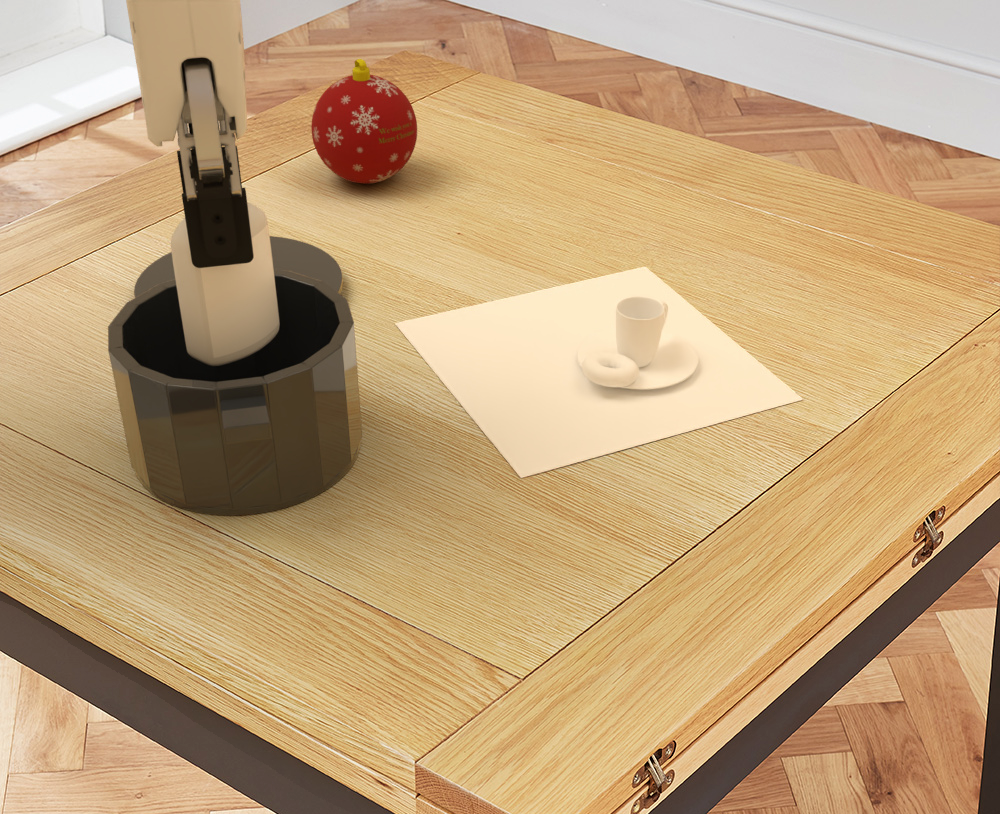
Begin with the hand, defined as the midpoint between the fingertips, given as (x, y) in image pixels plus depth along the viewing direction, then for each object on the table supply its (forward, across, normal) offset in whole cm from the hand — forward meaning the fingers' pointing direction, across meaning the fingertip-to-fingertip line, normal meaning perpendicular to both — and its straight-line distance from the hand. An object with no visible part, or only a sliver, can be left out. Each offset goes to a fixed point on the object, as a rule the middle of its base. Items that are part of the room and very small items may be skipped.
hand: (219, 236), depth 73 cm
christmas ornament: (+14, -37, +13) cm, 42 cm away
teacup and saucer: (+14, -5, +23) cm, 27 cm away
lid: (+13, -19, +1) cm, 23 cm away
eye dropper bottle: (+7, 0, 0) cm, 7 cm away
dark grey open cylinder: (+14, 0, 0) cm, 14 cm away
